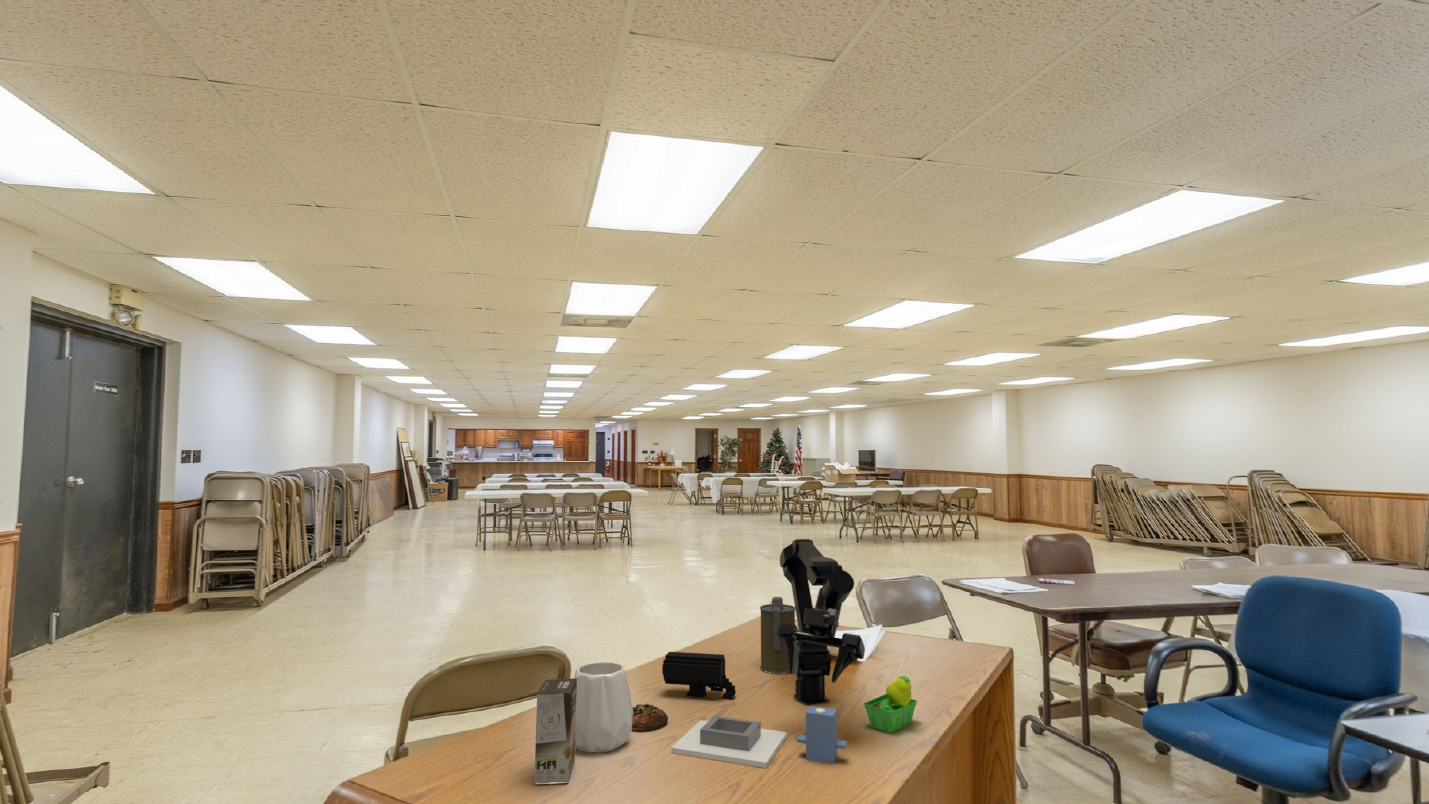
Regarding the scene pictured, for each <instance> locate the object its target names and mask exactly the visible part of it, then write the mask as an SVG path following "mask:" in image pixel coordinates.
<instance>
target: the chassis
mask: <svg viewBox="0 0 1429 804" xmlns="http://www.w3.org/2000/svg"><path fill="white" fill-rule="evenodd" d="M761 725H762V723H761V721H756V720H749V719H741V718H737V717H736V718H733V717H728V716H720V715H713V716H712V717H711V718H710V719H709V720H703V719H700V720H699V721H698V722H697V723H695V725H694V726H693V727H691V728H690V730H688V731H687V732H686V733H685V734H684V735H683V736H682V737H681V738H680V739H679V740H678V741H677V742H676V743H674V744H673V745H672V746H671V750H670V752H671V753H672V754H677V755H681V756H682V755H683V756H689V757H695V758H702V759H708V760H713V761H720V762H726V763H732V764H738V765H744V766H750V767H757V768H763V769H767V768H768V767H769V765H770V763H771V762H772V761H773V759H774V758H775V756H776V754H777V753H778V751H779V750H780V748H781V747H782V746H783V744H784V742H785V741H786V739H787V738H788V732H787V731H782V730H773V729H767V728H761Z"/></svg>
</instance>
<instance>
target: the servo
mask: <svg viewBox="0 0 1429 804" xmlns="http://www.w3.org/2000/svg"><path fill="white" fill-rule="evenodd" d="M796 743H799V744H805V760H806V761H808V762H809V761H810V762H814V763H815V762H817V763H822V764H823V763H824V764H829V765H835V763H836V761H837V758H838V757H839V756H838V755H839V754H838V749H841V750H846V747H847V745H848V744H847V743H848V741H846V740H839V739H838V710H837V708H829V707H820V706H813V705H810V706H808V708H807V710H806V711H805V734H799V735H798V736H797V738H796Z"/></svg>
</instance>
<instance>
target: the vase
mask: <svg viewBox="0 0 1429 804" xmlns="http://www.w3.org/2000/svg"><path fill="white" fill-rule="evenodd" d="M574 678H576V679H577V693H576V735H575V748H576V749H575V750H578V749H579V750H578V751H581V750H582V751H581V752H584V751H585V752H584V753H588V752H589V754H593V753H592V752H599V753H607V752H608V751H609V752H612V751H614V750H616V749H617V748H620V747H621V746H623V745H624V744H626V743H627V742H628V741H629V737H630V735H631V733H632V731H633V730H632V719H633V708H632V707H633V703H632V697H631V693H630V686H629V682H628V677H627V673H626V670H625V665H622V664H621V663H618V662H614V661H613V662H612V661H599V662H598V661H596V662H589V663H584V664H583V665H581V666H578V667H577V668H576V669H575V671H574Z"/></svg>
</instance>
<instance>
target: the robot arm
mask: <svg viewBox="0 0 1429 804" xmlns="http://www.w3.org/2000/svg"><path fill="white" fill-rule="evenodd" d="M779 564H780V565H779V566H780V567H781V568H782V571H783V573H782V574H783V576H784V578H786V580H788V582H789V583H790V584H791V591H792V596H793V603H794V607H795V617H796V621H797V624H795V625H791V624H785V623H782V624H781V625H780V626H778V630H777V635H778V637H779V639H780V641H781V643H782V644H783V645H784V646H785V647H786V649H788V654H789V667H790V673H789V674H790V675H795V677H796V680H795V683H794V684H795V694H794V695H793V698H795V699H797V700H798V701H800V702H801V703H803V704H805V705H806V706H807V705H813V704H820V703H826V702H829V699H828V697H826V690H825V687H826V684H825V683H826V682H825V679H826V678H825V676H826V677H830V675H831V674H830V673H831V669H832V668H831V665H832V658H833V656H831V652H830V650H829V648H828V647H831V648H832V647H833V648H838V650H837V651H838V653H837V658H836V661H835V665H834V667H833V671H832V676H831V682H832V684H835V683H836V682H837V680H838V679H839V678H840V676H841V674H842V673H843V672H844V671H845V670H846V669H847V668H848V666H849V665H850V664H851V663H852V662H855V663H856V662H857V661H858V659H859V660H863V659H864V657H865V653H866V651H865V650H866V647H865V644H864V641H863V639H862V637H861V635H860V634H854V633H853V634H852V633H847V632H845V633H843V634H842V637H841V638H840V637H836V632H837V629H838V628H839V625H840V623H839V620H840V614H841V611H842V606H843V603H844V602H845V601H846V600H847V598H848V597H849V595H850V594H851V592H852V590H853V589H854V587H855V580H854V577H852V575H851V574H850V573H849V572H848V571H846V570H845V569H844V568H843V566H842V565H841V564H839V562H838V561H837V560H835V559H834V558H831V557H828V556H827V557H826V556H824V555H823V554H822V553H821V551H820V550H819V549H818V548H817V547H816V546H815V544H814V541H813V540H812V539H810V538H796V539H794V540H792V542H791V544H788V545H787V546H785V547H784V548H783V549H782V551H781V553H780V555H779ZM810 584H811V586H819V587H820V586H822V587H820V588H819V590H818V594H817V597H816V602H815V604H814V605H815V606H813V599H812V595H811V589H810Z"/></svg>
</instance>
